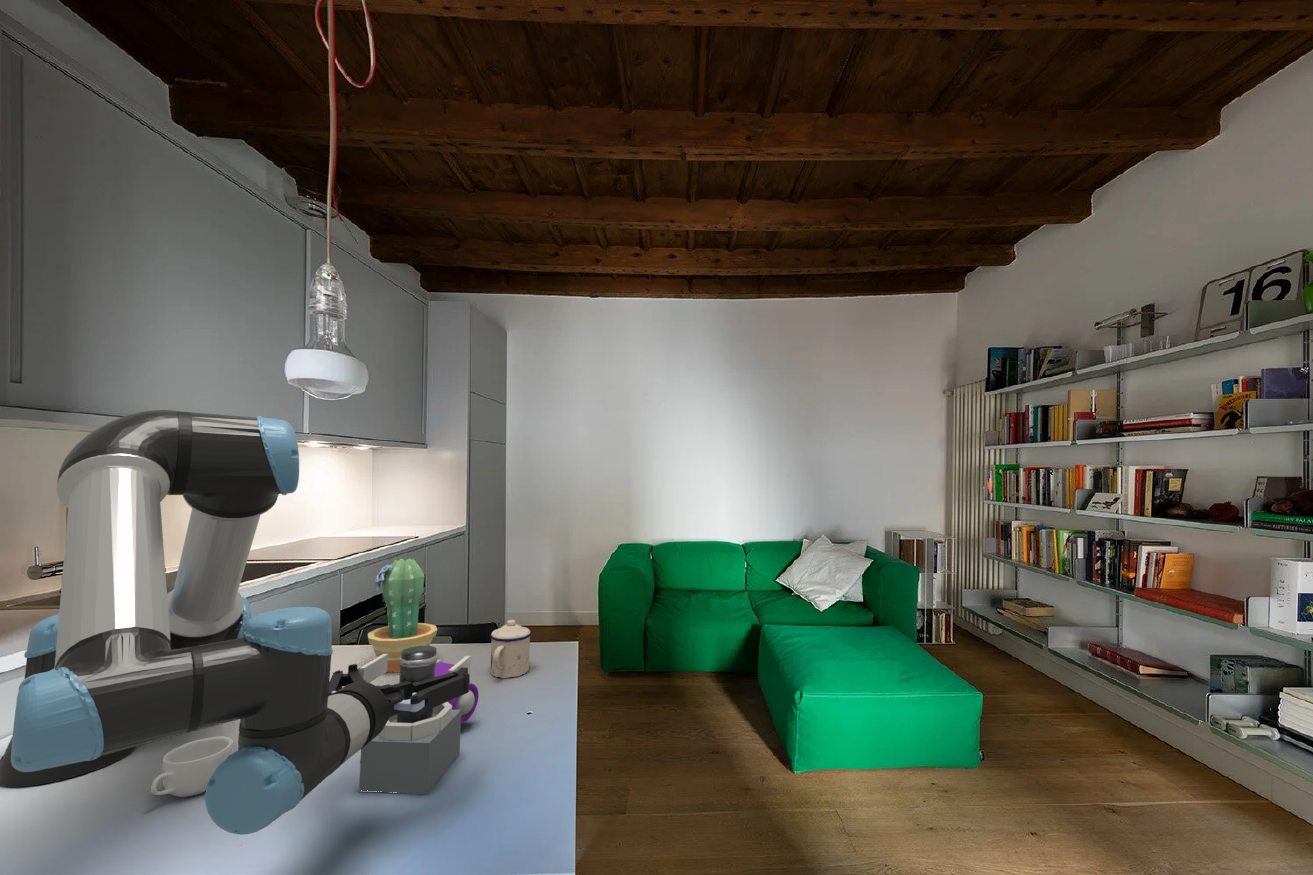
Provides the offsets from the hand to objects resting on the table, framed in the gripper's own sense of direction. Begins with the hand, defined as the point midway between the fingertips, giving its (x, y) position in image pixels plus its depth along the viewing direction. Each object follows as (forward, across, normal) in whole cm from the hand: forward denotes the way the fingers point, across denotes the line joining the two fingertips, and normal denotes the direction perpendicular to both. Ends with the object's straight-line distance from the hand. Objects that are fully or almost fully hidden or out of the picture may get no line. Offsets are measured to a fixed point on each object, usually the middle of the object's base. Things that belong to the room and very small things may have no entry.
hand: (426, 663), depth 85 cm
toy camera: (+13, -3, -15) cm, 20 cm away
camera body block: (-3, 0, -15) cm, 15 cm away
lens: (-3, 0, -8) cm, 9 cm away
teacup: (-10, -29, -15) cm, 34 cm away
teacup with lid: (+38, +1, -15) cm, 41 cm away
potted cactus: (+42, -26, -15) cm, 51 cm away
